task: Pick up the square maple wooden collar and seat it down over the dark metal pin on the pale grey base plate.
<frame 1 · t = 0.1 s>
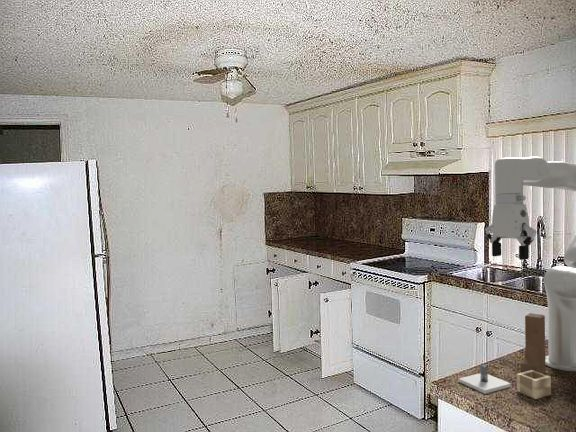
hand: (509, 257, 143), 37 cm above the worktop, tool pointing down, fingers open, 9 cm apart
maple collar: (533, 392, 134), on the worktop
wooden block: (533, 375, 147), on the worktop
pin plate: (484, 384, 141), on the worktop
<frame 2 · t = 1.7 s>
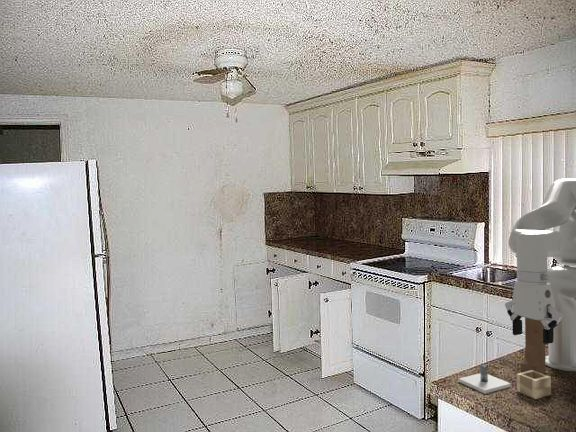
hand: (532, 338, 133), 15 cm above the worktop, tool pointing down, fingers open, 9 cm apart
nothing on the worktop moved.
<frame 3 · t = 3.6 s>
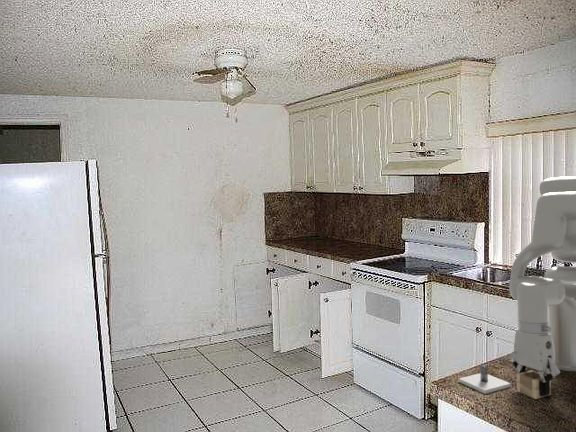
hand: (533, 390, 134), 1 cm above the worktop, tool pointing down, fingers closed on maple collar, 6 cm apart
maple collar: (533, 392, 134), on the worktop, touching gripper
everything else where it was.
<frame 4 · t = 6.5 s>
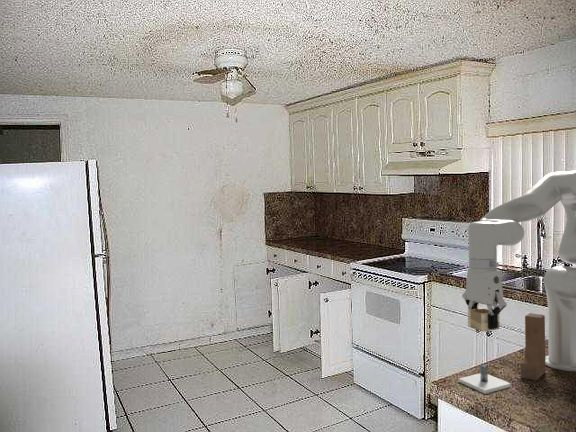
hand: (483, 325, 141), 18 cm above the worktop, tool pointing down, fingers closed on maple collar, 6 cm apart
maple collar: (483, 327, 141), point 17 cm above the worktop, touching gripper
everything else where it was.
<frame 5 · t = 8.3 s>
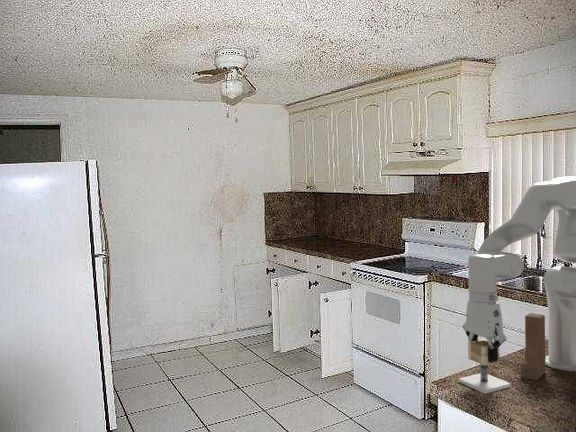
hand: (483, 357, 141), 8 cm above the worktop, tool pointing down, fingers closed on maple collar, 6 cm apart
maple collar: (483, 360, 141), point 7 cm above the worktop, touching gripper
everything else where it was.
when the fingers open (3 cm above the worktop, at t = 9.9 s): maple collar drops 1 cm, resting on pin plate.
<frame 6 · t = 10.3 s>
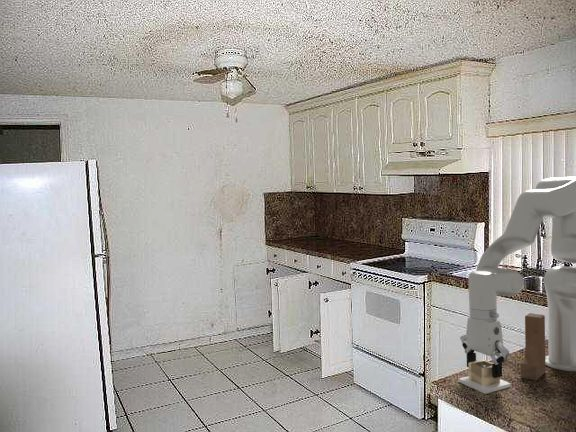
hand: (484, 371, 141), 4 cm above the worktop, tool pointing down, fingers open, 9 cm apart
maple collar: (484, 380, 141), point 1 cm above the worktop, touching pin plate
everything else where it was.
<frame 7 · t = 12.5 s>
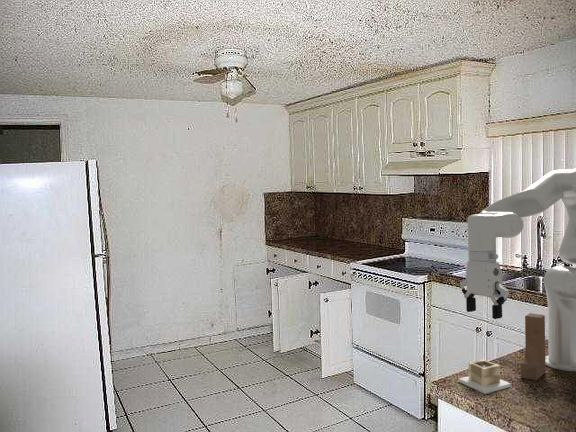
hand: (483, 314, 141), 20 cm above the worktop, tool pointing down, fingers open, 9 cm apart
nothing on the worktop moved.
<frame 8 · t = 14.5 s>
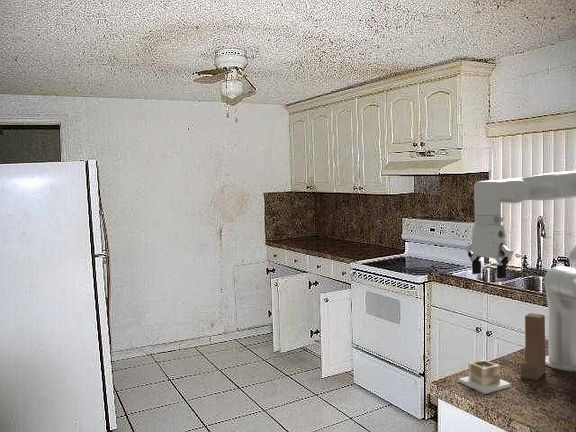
hand: (488, 275, 149), 30 cm above the worktop, tool pointing down, fingers open, 9 cm apart
nothing on the worktop moved.
at the end: maple collar 0.0 cm off-centre on the pin plate, point 1.0 cm above the pin plate's base; maple collar tilted 0°; the gripper is holding nothing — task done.
